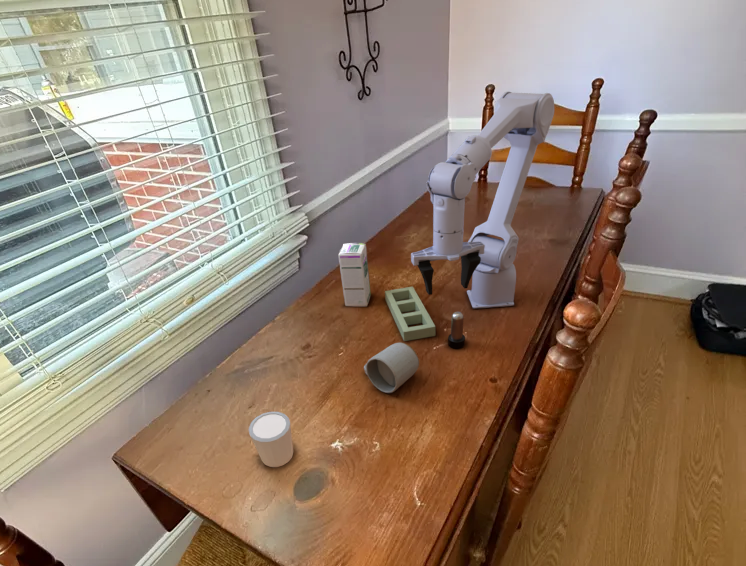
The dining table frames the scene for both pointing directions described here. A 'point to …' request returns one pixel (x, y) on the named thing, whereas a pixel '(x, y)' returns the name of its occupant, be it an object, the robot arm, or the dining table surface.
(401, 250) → the dining table surface
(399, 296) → the rack
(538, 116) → the robot arm
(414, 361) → the ceramic mug
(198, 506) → the dining table surface
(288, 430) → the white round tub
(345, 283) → the syrup box
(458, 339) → the silver rounded cylinder
